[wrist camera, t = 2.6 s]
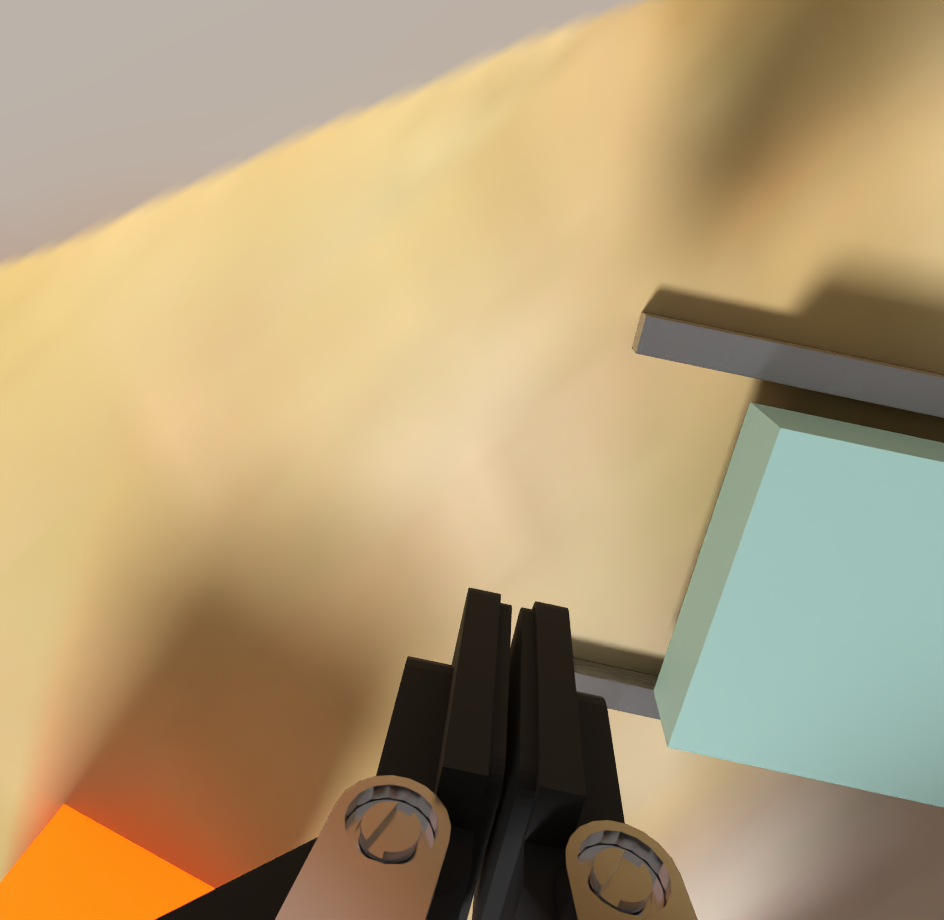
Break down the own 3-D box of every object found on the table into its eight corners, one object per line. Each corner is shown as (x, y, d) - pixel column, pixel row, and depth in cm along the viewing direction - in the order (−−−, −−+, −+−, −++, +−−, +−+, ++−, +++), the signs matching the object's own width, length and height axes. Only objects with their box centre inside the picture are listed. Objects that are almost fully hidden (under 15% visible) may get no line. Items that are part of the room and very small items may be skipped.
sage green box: (988, 734, 23) (1079, 837, 19) (645, 659, 23) (667, 746, 19) (1129, 471, 20) (1269, 530, 16) (734, 388, 20) (780, 427, 16)
